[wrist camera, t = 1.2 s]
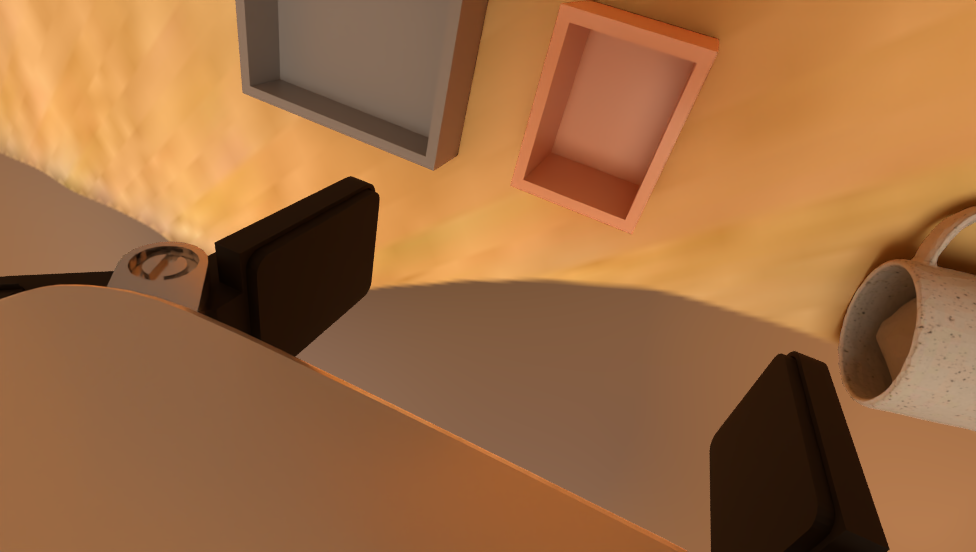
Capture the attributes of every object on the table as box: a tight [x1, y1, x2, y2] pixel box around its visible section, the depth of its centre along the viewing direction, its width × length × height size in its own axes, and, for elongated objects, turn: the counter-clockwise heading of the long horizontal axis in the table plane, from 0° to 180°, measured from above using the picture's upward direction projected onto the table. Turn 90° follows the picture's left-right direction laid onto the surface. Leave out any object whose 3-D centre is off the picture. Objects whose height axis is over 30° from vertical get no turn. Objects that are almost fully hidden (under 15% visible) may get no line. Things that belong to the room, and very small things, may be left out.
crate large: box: [235, 0, 488, 171], centre depth 30 cm, size 13×15×4 cm
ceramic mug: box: [838, 206, 976, 431], centre depth 23 cm, size 11×8×8 cm
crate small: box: [510, 0, 719, 234], centre depth 25 cm, size 9×7×6 cm
